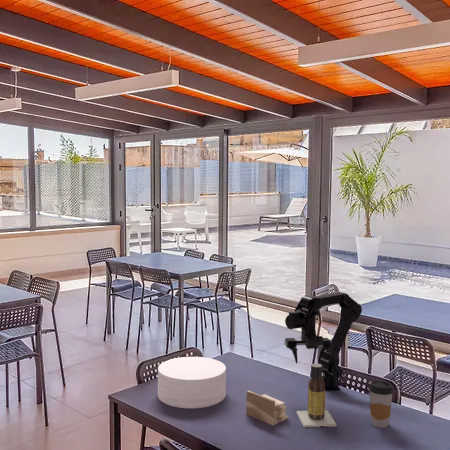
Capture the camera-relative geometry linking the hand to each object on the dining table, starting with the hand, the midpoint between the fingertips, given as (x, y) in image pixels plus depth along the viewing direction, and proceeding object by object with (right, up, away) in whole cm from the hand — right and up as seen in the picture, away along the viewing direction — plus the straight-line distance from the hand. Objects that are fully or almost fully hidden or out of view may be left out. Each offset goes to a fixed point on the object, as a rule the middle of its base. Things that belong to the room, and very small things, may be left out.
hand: (307, 363), depth 219 cm
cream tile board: (-1, -15, -24) cm, 28 cm away
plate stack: (-48, -13, -1) cm, 50 cm away
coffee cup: (+22, -16, -27) cm, 38 cm away
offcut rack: (-19, -14, -22) cm, 32 cm away
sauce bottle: (0, -14, -24) cm, 27 cm away
